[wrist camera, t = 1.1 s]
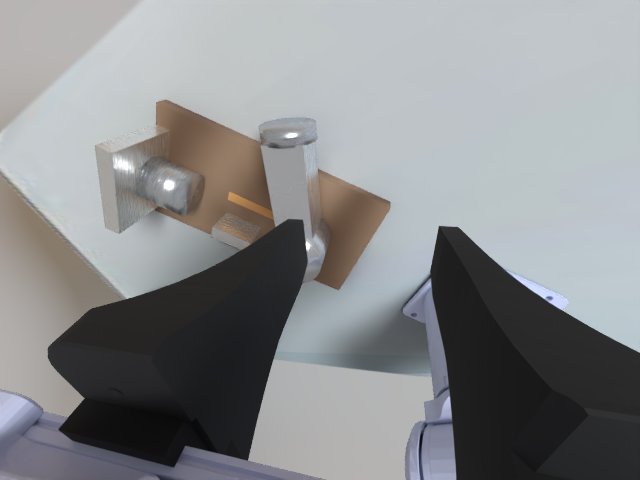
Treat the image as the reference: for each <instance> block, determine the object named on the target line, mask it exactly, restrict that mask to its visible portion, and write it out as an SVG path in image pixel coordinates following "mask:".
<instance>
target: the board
mask: <svg viewBox="0 0 640 480" xmlns="http://www.w3.org/2000/svg"><path fill="white" fill-rule="evenodd" d="M156 124H157V125H159V126H161V127H163V128H165V129H168V130H170V137H169V161H172V162H174V163H176V164H178V165H181V166H183V167H185V168H187V169H190V170H192V171H194V172H196V173H199V174H201V175H202V176H203V178H204V189H203V193H202V196H201V198H200V200H199V202H198V204H197V206H196V207H195V208H194V210H193V211H192V212H191V213H189V214H188V215H186V216H181V215H179V214H176V213H174V212H172V211H170V210H167V209H165V208H163V207H160V206H159V207H157V208H156V209H155V210H156V211H158V212H161V213H163V214H165V215H167V216H170V217H172V218H174V219H177V220H179V221H181V222H183V223H186V224H188V225H190V226H193V227H195V228H197V229H200V230H202V231H204V232H206V233H209V234H211V233H212V227H213V226H214V225H215V224H216V223H217V222H218V221H219V220H220V219H221V218H222V217H223V216H224V215H225V214H226V213H229V214H231V215H234V216H236V217H238V218H240V219H243V220H245V221H247V222H249V223H252V224H254V225H256V226H259V227H261V232H260V235H259V237H258V239H259V238H261V237H262V236H264V235H265V234H267V233H268V232H269V231H271V230H272V229H274V228H275V222H274V217H273V211H272V206H271V200H270V195H269V189H268V184H267V178H266V173H265V167H264V162H263V156H262V151H261V145H262V143H260V142H258V141H255V140H253V139H251V138H249V137H247V136H245V135H242V134H240V133H238V132H236V131H234V130H231V129H229V128H227V127H225V126H223V125H220V124H218V123H216V122H214V121H212V120H209V119H207V118H205V117H203V116H201V115H198V114H196V113H194V112H192V111H190V110H188V109H185V108H183V107H181V106H179V105H177V104H174V103H172V102H170V101H168V100H163V101H159V102H156ZM318 180H319V193H320V207H321V218H322V219H323V220H324V221H325V222H326V223H327V225H328V226H329V229H330V233H331V238H330V241H329V245H328V248H327V251H326V254H325V257H324V260H323V263H322V266H321V270H320V272H319V274H318V276H317V277H316V278H314V280H316V281H319V282H321V283H323V284H326V285H328V286H330V287H332V288H335V289H337V290H339V289H340V287H341V286H342V284H343V283H344V281H345V280H346V278H347V276H348V275H349V273H350V272H351V270H352V268H353V267H354V265H355V264H356V262H357V261H358V259H359V257H360V256H361V254H362V253H363V251H364V249H365V248H366V246H367V245H368V243H369V241H370V240H371V238H372V237H373V235H374V234H375V232H376V230H377V229H378V227H379V226H380V224H381V222H382V221H383V219H384V218H385V216H386V215H387V213H388V211H389V210H390V202H389V201H387V200H385V199H383V198H380V197H378V196H376V195H374V194H372V193H369V192H367V191H365V190H363V189H361V188H358V187H356V186H354V185H352V184H350V183H348V182H345V181H343V180H341V179H339V178H337V177H334V176H332V175H330V174H328V173H326V172H323V171H321V170H319V169H318ZM258 239H257V240H258Z"/></svg>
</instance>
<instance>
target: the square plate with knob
mask: <svg viewBox="0 0 640 480" xmlns="http://www.w3.org/2000/svg"><path fill="white" fill-rule="evenodd" d="M169 137H170V130H168V129H165V128H163V127H161V126H159V125H157V124H156V125H153V126H150V127H147V128H144V129H141V130H138V131H135V132H132V133H130V134H127V135H124V136H121V137H118V138H115V139H112V140H109V141H106V142H104V143H101V144H98V145H95V151H96V159H97V167H98V175H99V182H100V190H101V198H102V206H103V214H104V222H105V228H107V229H109V230H111V231H114V232H116V233H118V234H120V233H122V232H123V231H124V230H126V229H127V228H129V227H130V226H132V225H133V224H134V223H136V222H137V221H139V220H140V219H142V218H143V217H144V216H146V215H147V214H149V213H150V212H152V211H153V210H154V209H156V208H157V207H159V206H160V207H163V208H165V209H167V210H170V211H172V212H174V213H176V214H179V215H181V216H186V215H188V214H189V213H191V212H192V211H193V210H194V208H195V207H196V206H197V204H198V202H199V200H200V198H201V196H202V193H203V189H204V178H203V176H202V175H201V174H199V173H196V172H194V171H192V170H190V169H187V168H185V167H183V166H181V165H178V164H176V163H174V162H172V161H169ZM260 232H261V227H259V226H256V225H254V224H252V223H249V222H247V221H245V220H243V219H240V218H238V217H236V216H234V215H231V214H229V213H226V214H225V215H224V216H223V217H222V218H221V219H220V220H219V221H218V222H217V223H216V224H215V225H214V226H213V227H212V233H211V237H212V238H214V239H217V240H219V241H221V242H224V243H226V244H228V245H230V246H233V247H235V248H237V249H240V250H242V249H244V248H246V247H247V246H249V245H250V244H252V243H254V242H255V241H256V240H257V239H258V237H259V235H260Z"/></svg>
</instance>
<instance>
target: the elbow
mask: <svg viewBox="0 0 640 480" xmlns="http://www.w3.org/2000/svg"><path fill="white" fill-rule="evenodd" d="M259 132H260V138H261V143H262V145H261V151H262V156H263V162H264V167H265V173H266V178H267V184H268V189H269V195H270V200H271V206H272V211H273V217H274V222H275V227H277V226H278V225H279V224H281V223H282V222H284V221H286V220H287V219H300V220H303V223H304V231H305V240H306V249H307V257H308V263H307V267H306V271H305V275H304V279H303V283H304V282H308V281H311V280H313V279H314V278H316V277H317V276H318V274H319V272H320V270H321V266H322V263H323V260H324V257H325V254H326V251H327V248H328V245H329V241H330V238H331V233H330V229H329V226H328V225H327V223H326V222H325V221H324V220H323V219H322V218H321V207H320V193H319V180H318V166H317V153H316V140H317V129H316V121H315V120H314V119H310V118H284V119H277V120H272V121H268V122H265V123H263V124H261V125H259Z"/></svg>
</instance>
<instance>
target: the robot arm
mask: <svg viewBox="0 0 640 480" xmlns="http://www.w3.org/2000/svg"><path fill="white" fill-rule="evenodd" d="M307 263H308V257H307V249H306V240H305V231H304V223H303V220H300V219H287V220H286V221H284V222H282V223H281V224H279V225H278V226H277V227H275V228H274V229H272V230H271V231H269V232H268V233H267V234H265V235H264V236H262V237H261V238H259V239H258V240H256V241H255V242H254V243H252V244H250V245H249V246H247V247H246V248H244V249H242V250H241V251H239V252H238V253H236V254H234V255H233V256H231V257H229V258H228V259H226V260H224V261H222V262H220V263H218V264H217V265H215V266H213V267H211V268H209V269H207V270H204V271H202V272H200V273H198V274H195V275H193V276H191V277H188V278H186V279H184V280H181V281H179V282H177V283H174V284H171V285H169V286H166V287H163V288H160V289H158V290H155V291H152V292H149V293H146V294H143V295H139V296H136V297H133V298H129V299H126V300H122V301H119V302H115V303H111V304H107V305H104V306H100V307H96V308H92V309H90V310H89V311H88V312H87V313H85V314H84V315H83V316H82V317H81V318H80V319H79V320H78V321H77V322H76V323H74V324H73V325H72V326H71V327H70V328H69V329H68V330H67V331H65V332H64V333H63V334H62V335H61V336H60V337H59V338H57V339H56V340H55V341H54V342H53V343H52V344H51V345H50V346H49V347H48V359H49V361H50V363H51V365H52V366H53V367H54V368H55V369H56V370H57V372H58V373H59V374H60V375H61V376H62V377H63V378H65V380H67V381H68V382H69V383H70V384H71V385H72V386H73V387H74V388H75V389H76V390H77V391H78V392H79V393H80V394H81V395H82V396H83V397H84V398H85V399H84V400H83V401H82V402H81V403H80V405H79V406H78V407H77V408H76V409H75V410H74V411H73V413H72V414H71V415H70V416H69V417H64V416H60V415H56V414H52V413H48V412H44V411H43V408H42V407H41V406H40V405H38V404H37V403H36V402H35V401H33V400H32V399H30V398H28V397H26V396H24V395H21V394H18V393H14V392H10V391H6V390H1V389H0V480H325V479H321V478H317V477H313V476H308V475H304V474H300V473H296V472H292V471H288V470H283V469H279V468H275V467H271V466H267V465H263V464H259V463H254V462H251V461H248V458H249V453H250V449H251V445H252V440H253V435H254V431H255V427H256V423H257V419H258V414H259V411H260V407H261V403H262V399H263V395H264V391H265V387H266V383H267V380H268V376H269V372H270V369H271V365H272V362H273V359H274V355H275V352H276V349H277V345H278V342H279V339H280V336H281V334H282V331H283V328H284V326H285V323H286V321H287V319H288V316H289V314H290V312H291V309H292V307H293V304H294V302H295V300H296V297H297V295H298V292H299V290H300V288H301V285H302V283H303V279H304V275H305V271H306V267H307ZM430 273H431V278H430V279H429V280H428V281H427V282H426V283H425V284H424V285H423V287H422V288H421V289H420V290H419V291H418V292H417V293H416V294H415V295H414V297H413V298H412V299H411V300H410V301H409V302H408V303H407V304H406V305H405V307H404V308H403V314H404V315H406V316H408V317H410V318H412V319H415V320H417V321H419V322H421V323H424V324H426V331H427V340H428V348H429V357H430V366H431V375H432V383H433V392H434V400H431V401H426V402H424V405H425V416H426V421H420V422H418V423H416V424H415V425H414V427H413V429H412V431H411V434H410V438H409V441H408V443H407V447H406V454H405V476H406V480H640V353H639V352H637V351H635V350H633V349H631V348H629V347H627V346H625V345H623V344H621V343H619V342H617V341H615V340H613V339H611V338H610V337H608V336H606V335H604V334H602V333H600V332H598V331H596V330H595V329H593V328H591V327H589V326H588V325H586V324H584V323H583V322H581V321H579V320H577V319H576V318H574V317H572V316H571V315H569V314H567V313H565V312H564V311H562V310H561V309H563V308H564V307H566V306H567V305H568V300H567V299H566V298H565V297H564V296H562V295H559V294H557V293H555V292H553V291H551V290H548V289H546V288H544V287H542V286H540V285H537V284H535V283H533V282H531V281H529V280H526V279H524V278H522V277H520V276H518V275H515V274H513V273H511V272H509V271H507V270H504V269H503V268H502V267H501V266H500V265H498V264H497V263H496V262H495V261H494V260H493V259H492V258H490V257H489V256H488V255H487V254H486V253H485V252H484V251H483V250H482V249H481V248H480V247H478V246H477V245H476V244H475V243H474V242H473V241H472V240H471V239H470V238H469V237H468V236H467V235H466V234H465V233H464V232H463V231H462V230H461V229H460V228H458V227H446V226H439V229H438V234H437V240H436V245H435V250H434V255H433V260H432V265H431V271H430ZM547 296H549V297H547ZM413 313H415V314H413Z"/></svg>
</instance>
